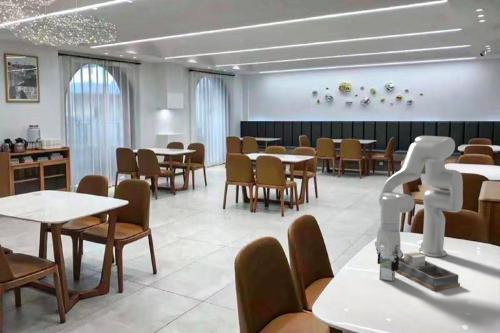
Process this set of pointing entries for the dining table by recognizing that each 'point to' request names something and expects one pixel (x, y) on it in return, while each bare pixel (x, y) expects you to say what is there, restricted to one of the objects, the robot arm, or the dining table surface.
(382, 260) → the syrup box
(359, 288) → the dining table surface
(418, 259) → the divided tray
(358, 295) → the dining table surface
